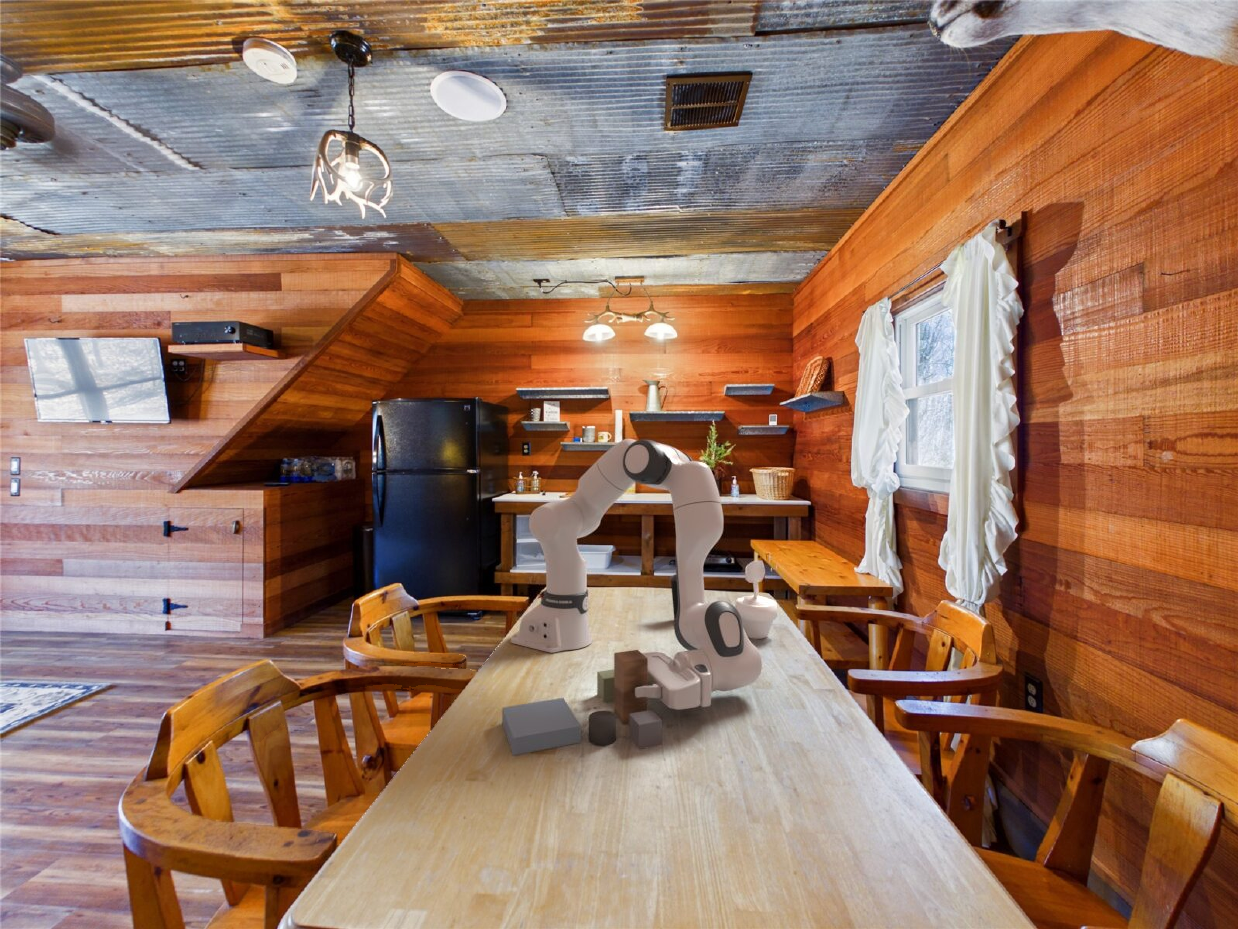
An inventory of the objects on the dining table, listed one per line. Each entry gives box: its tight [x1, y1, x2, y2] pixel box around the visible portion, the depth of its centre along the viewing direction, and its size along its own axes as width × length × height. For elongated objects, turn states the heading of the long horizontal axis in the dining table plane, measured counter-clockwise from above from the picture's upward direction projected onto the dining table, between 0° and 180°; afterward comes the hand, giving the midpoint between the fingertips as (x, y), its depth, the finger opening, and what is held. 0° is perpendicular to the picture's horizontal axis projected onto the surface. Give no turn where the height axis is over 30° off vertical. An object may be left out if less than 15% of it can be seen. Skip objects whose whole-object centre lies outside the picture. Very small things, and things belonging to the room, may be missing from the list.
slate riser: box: [501, 697, 582, 756], centre depth 100 cm, size 12×12×3 cm
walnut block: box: [613, 649, 648, 725], centre depth 106 cm, size 5×5×12 cm
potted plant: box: [734, 554, 778, 640], centre depth 155 cm, size 13×12×25 cm
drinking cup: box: [669, 573, 678, 622], centre depth 168 cm, size 8×8×20 cm
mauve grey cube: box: [628, 709, 663, 750], centre depth 97 cm, size 4×4×4 cm
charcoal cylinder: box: [587, 710, 617, 747], centre depth 98 cm, size 5×5×4 cm
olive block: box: [596, 668, 614, 704], centre depth 115 cm, size 4×4×5 cm
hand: (626, 683), depth 106 cm, fingers open, 7 cm apart
